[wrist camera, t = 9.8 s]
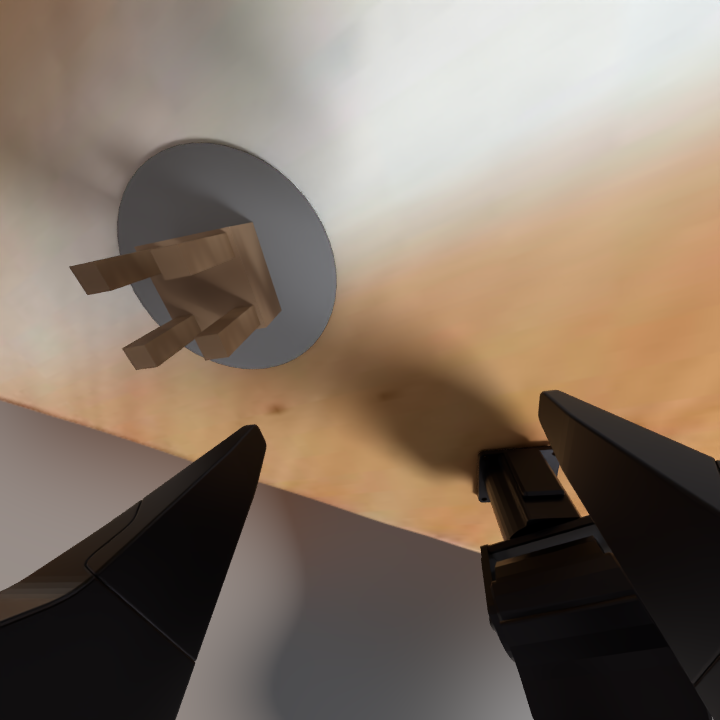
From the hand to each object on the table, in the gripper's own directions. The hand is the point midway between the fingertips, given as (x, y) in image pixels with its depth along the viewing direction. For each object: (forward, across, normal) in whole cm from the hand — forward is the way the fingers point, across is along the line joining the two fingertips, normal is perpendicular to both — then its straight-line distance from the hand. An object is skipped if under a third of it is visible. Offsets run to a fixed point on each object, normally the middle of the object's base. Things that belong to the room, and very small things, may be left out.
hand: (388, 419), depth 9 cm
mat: (+11, +10, -4) cm, 16 cm away
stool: (+11, +10, -4) cm, 15 cm away
